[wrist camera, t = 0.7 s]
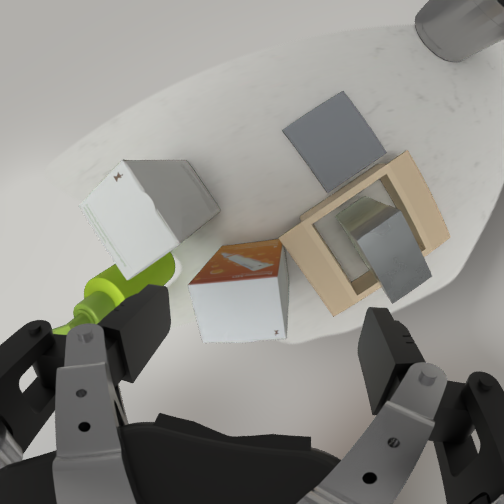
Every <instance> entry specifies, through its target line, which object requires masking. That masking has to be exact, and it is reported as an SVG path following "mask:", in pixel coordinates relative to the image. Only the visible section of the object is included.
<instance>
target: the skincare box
mask: <svg viewBox="0 0 504 504" xmlns="http://www.w3.org/2000/svg"><path fill="white" fill-rule="evenodd" d="M79 207H80V209H81V211H82V213H83V214H84V216H85V217H86V219H87V221H88V222H89V224H90V226H91V227H92V229H93V230H94V232H95V233H96V235H97V237H98V238H99V240H100V241H101V243H102V244H103V246H104V247H105V249H106V251H107V252H108V254H109V255H110V257H111V258H112V259H113V261H114V262H115V264H116V265H117V267H118V268H119V270H120V271H121V273H122V274H123V276H124V277H125V278H126V280H129V279H131V278H133V277H134V276H136V275H137V274H139V273H140V272H142V271H143V270H145V269H146V268H147V267H149V266H150V265H152V264H153V263H155V262H156V261H157V260H159V259H160V258H162V257H163V256H164V255H166V254H167V253H169V252H170V251H172V250H173V249H174V248H176V247H177V246H178V245H180V244H181V243H182V242H183V241H184V240H185V239H187V238H188V237H189V236H190V235H192V234H193V233H194V232H195V231H196V230H198V229H199V228H200V227H201V226H203V225H204V224H205V223H206V222H208V221H209V220H210V219H211V218H213V217H214V216H215V215H216V214H218V213H219V212H220V208H219V207H218V205H217V204H216V202H215V201H214V199H213V198H212V196H211V195H210V193H209V192H208V190H207V189H206V188H205V186H204V185H203V183H202V182H201V180H200V179H199V177H198V176H197V174H196V173H195V171H194V170H193V168H192V167H191V166H190V164H189V163H188V161H187V160H121V161H120V162H119V163H118V164H117V165H116V166H115V167H114V168H113V169H112V170H111V171H110V172H109V173H108V174H107V176H106V177H105V178H104V179H103V180H102V181H101V182H100V183H99V184H98V185H97V186H96V187H95V189H94V190H93V191H92V192H91V193H90V194H89V195H88V196H87V197H86V199H85V200H84V201H83V202H82V203H81V204H80V205H79Z"/></svg>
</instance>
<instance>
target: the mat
mask: <svg viewBox="0 0 504 504" xmlns="http://www.w3.org/2000/svg"><path fill="white" fill-rule="evenodd" d="M282 131H283V132H284V133H285V135H286V136H287V137H288V139H289V140H290V141H291V143H292V144H293V145H294V147H295V148H296V149H297V151H298V152H299V153H300V155H301V156H302V157H303V159H304V160H305V162H306V163H307V164H308V166H309V167H310V169H311V170H312V171H313V173H314V174H315V176H316V177H317V179H318V180H319V181H320V183H321V184H322V186H323V187H324V189H325V190H326V192H327V193H328V192H330V191H331V190H333V189H334V188H335V187H337V186H338V185H340V184H341V183H343V182H344V181H346V180H347V179H349V178H350V177H352V176H353V175H355V174H356V173H358V172H359V171H361V170H362V169H363V168H365V167H366V166H368V165H369V164H371V163H372V162H374V161H375V160H377V159H378V158H380V157H381V156H383V155H384V154H386V153H387V152H386V151H385V149H384V148H383V146H382V145H381V143H380V141H379V140H378V138H377V137H376V135H375V134H374V132H373V131H372V129H371V128H370V127H369V125H368V124H367V122H366V121H365V119H364V118H363V117H362V115H361V114H360V112H359V111H358V110H357V108H356V107H355V106H354V104H353V103H352V102H351V100H350V99H349V98H348V96H347V95H346V94H345V93H344V91H342V92H340V93H338V94H337V95H335V96H334V97H332V98H330V99H329V100H327V101H326V102H324V103H322V104H321V105H319V106H318V107H316V108H315V109H313V110H312V111H310V112H308V113H307V114H305V115H304V116H302V117H301V118H299V119H298V120H296V121H295V122H293V123H292V124H290V125H289V126H288V127H286V128H285V129H283V130H282Z"/></svg>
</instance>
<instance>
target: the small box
mask: <svg viewBox="0 0 504 504" xmlns="http://www.w3.org/2000/svg"><path fill="white" fill-rule="evenodd" d="M188 288H189V292H190V296H191V300H192V304H193V308H194V312H195V316H196V320H197V324H198V328H199V331H200V336H201V340H202V342H203V343H247V342H256V341H267V340H279V339H286V338H287V324H288V305H289V279H288V271H287V263H286V255H285V247H284V245H283V244H282V243H281V241H280V240H279V239H275V240H268V241H260V242H253V243H244V244H235V245H226V246H222V247H221V248H220V249H219V250H218V251H217V252H216V253H215V255H214V256H213V257H212V258H211V259H210V260H209V261H208V262H207V264H206V265H205V266H204V267H203V268H202V269H201V270H200V272H199V273H198V274H197V275H196V276H195V277H194V279H193V280H192V281H191V282H190V283H189V284H188Z"/></svg>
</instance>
